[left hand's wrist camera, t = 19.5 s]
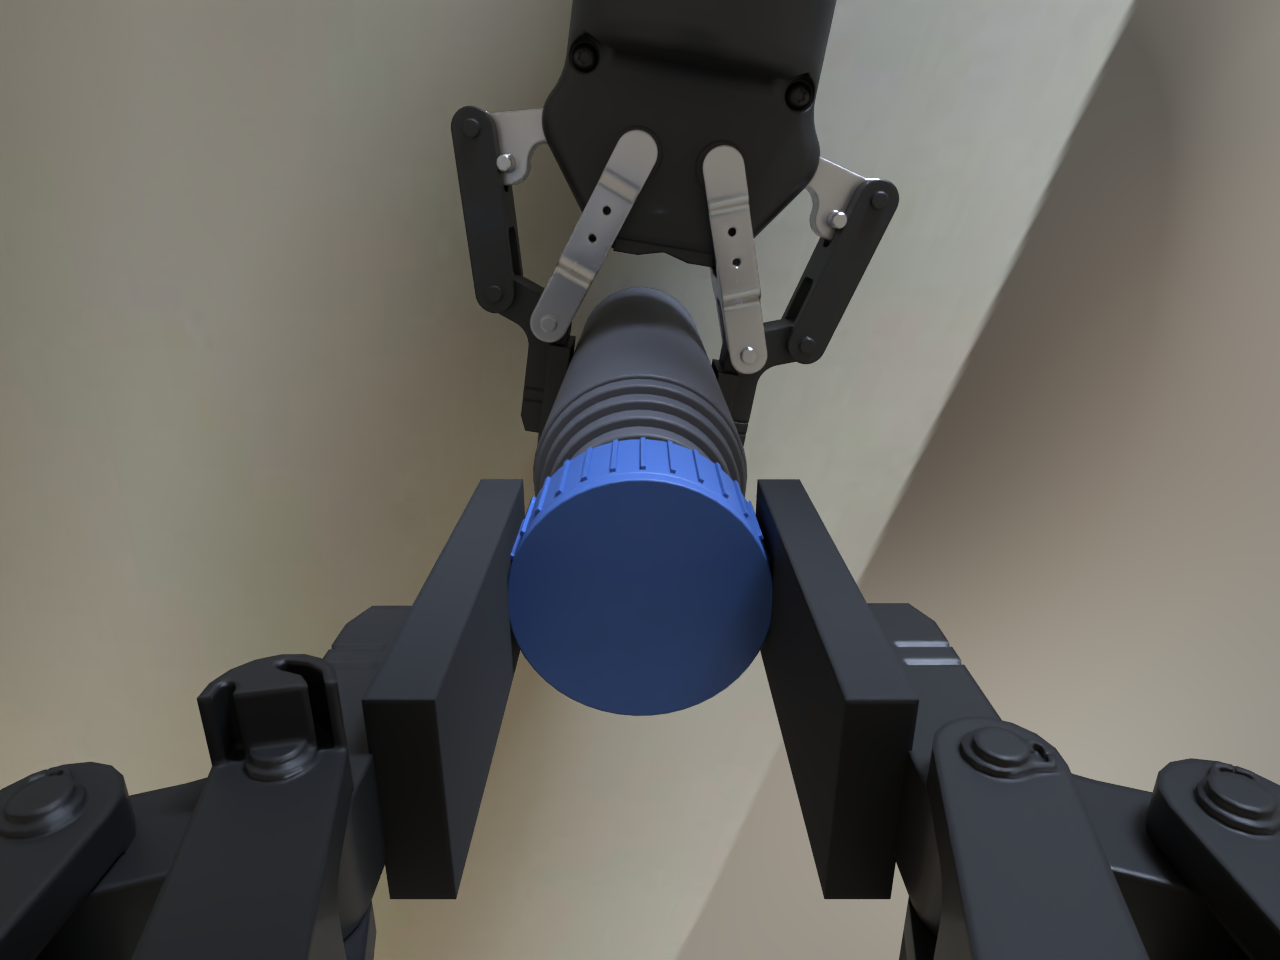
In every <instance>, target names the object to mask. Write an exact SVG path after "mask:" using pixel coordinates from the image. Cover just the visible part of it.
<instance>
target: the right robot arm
mask: <svg viewBox="0 0 1280 960" xmlns="http://www.w3.org/2000/svg"><path fill="white" fill-rule="evenodd" d="M835 4H836V0H573V4H572V12H571V21H570V30H569V39H568V47H567V55H566V61H565V65H564V68H563V71H562V74H561V76H560V78H559V80H558V82H557V84H556V86H555V87H554V89H553V90H552V91H551V93H550V94H549V96H548V97H547V99H546V101H545V104H544V107H543V108H537V109H526V110H514V111H503V112H491V113H489V112H486V111H484V110H482V109H480V108H477V107H474V106H466V107H463V108H461V109H459V110H458V111H457V112H456V113H455V115H454V116H453V119H452V122H451V132H452V139H453V146H454V152H455V159H456V166H457V173H458V179H459V186H460V193H461V199H462V206H463V213H464V220H465V226H466V233H467V240H468V247H469V253H470V260H471V267H472V274H473V280H474V287H475V294H476V299H477V301H478V303H479V305H480V306H481V307H482V308H483V309H485V310H486V311H488V312H491V313H499V314H501V315H502V316H504V317H506V318H508V319H510V320H512V321H513V322H515V323H517V324H518V325H519V326H521V327H522V329H523V330H524V331H525V333H526V335H527V337H528V342H529V349H528V358H527V367H526V376H525V384H524V393H523V402H522V411H521V417H522V421H523V424H524V428H525V431H532V432H538V433H539V436H538V443H539V440H540V437H541V435H542V432H543V430H544V427H545V425H546V422H547V420H548V417H549V415H550V412H551V410H552V407H553V405H554V402H555V400H556V397H557V395H558V392H559V390H560V387H561V385H562V382H563V379H564V377H565V374H566V372H567V369H568V367H569V364H570V362H571V359H572V357H573V354H574V346H575V339H576V336H570V332H571V324H572V320H573V318H574V316H575V314H576V312H577V310H578V308H579V307H580V305H581V303H582V301H583V299H584V297H585V295H586V293H587V291H588V289H589V288H590V286H591V284H592V282H593V280H594V278H595V276H596V274H597V272H598V271H599V269H600V267H601V265H602V263H603V261H604V259H605V257H606V255H607V253H608V252H609V250H610V248H611V247H612V248H614V249H613V251H618V252H624V253H630V254H636V255H641V254H650V253H660V252H664V253H667V254H669V255H671V256H673V257H675V258H678V259H680V260H682V261H684V262H686V263H689V264H695V265H701V266H707V267H710V273H711V279H712V285H713V290H714V294H715V299H716V305H717V311H718V317H719V324H720V330H721V336H722V343H723V344H722V349H721V354H720V359H719V360H716V359H713V360H712V369H713V371H714V374H715V376H716V379H717V381H718V384H719V386H720V389H721V391H722V394H723V396H724V399H725V401H726V404H727V406H728V409H729V411H730V414H731V416H732V419H733V421H734V424H735V426H736V429H737V431H738V434H739V436H740V439H741V442H742V445H743V446H744V441H745V436H746V432H747V427H748V422H749V418H750V413H751V409H752V404H753V399H754V395H755V390H756V385H757V382H758V379H759V378H760V376H761V375H762V373H763V372H764V371H766V370H767V369H769V368H770V367H773V366H776V365H781V364H786V363H791V362H798V363H801V364H810V363H813V362H815V361H817V360H818V359H819V358H820V357H821V356H822V355H823V353H824V351H825V349H826V347H827V345H828V343H829V341H830V339H831V337H832V335H833V333H834V331H835V329H836V328H837V326H838V324H839V322H840V320H841V318H842V316H843V314H844V312H845V310H846V308H847V306H848V304H849V302H850V300H851V298H852V296H853V294H854V292H855V290H856V288H857V286H858V284H859V282H860V280H861V278H862V276H863V274H864V272H865V270H866V268H867V266H868V264H869V262H870V260H871V258H872V256H873V254H874V252H875V250H876V248H877V246H878V244H879V242H880V240H881V238H882V236H883V234H884V232H885V230H886V228H887V226H888V224H889V222H890V221H891V219H892V217H893V215H894V213H895V211H896V209H897V206H898V203H899V194H898V191H897V188H896V187H895V186H894V185H893V184H892V183H891V182H890V181H887V180H883V179H866V178H864V177H862V176H860V175H857V174H855V173H853V172H851V171H849V170H847V169H845V168H843V167H840V166H838V165H836V164H834V163H832V162H830V161H828V160H826V159H823V158H821V157H820V147H819V142H818V139H817V135H816V131H815V125H814V104H815V98H816V93H817V88H818V83H819V79H820V74H821V69H822V65H823V60H824V55H825V51H826V46H827V41H828V37H829V32H830V27H831V23H832V18H833V13H834V9H835ZM544 143H548V145H549V147H550V149H551V151H552V153H553V155H554V157H555V159H556V161H557V163H558V165H559V167H560V169H561V171H562V173H563V175H564V177H565V179H566V181H567V183H568V185H569V187H570V189H571V191H572V193H573V195H574V197H575V199H576V201H577V203H578V205H579V207H580V209H581V211H582V215H581V217H580V219H579V221H578V223H577V225H576V227H575V229H574V231H573V233H572V235H571V237H570V239H569V240H568V242H567V244H566V246H565V248H564V250H563V252H562V254H561V256H560V258H559V261H558V263H557V265H556V268H555V270H554V272H553V274H552V276H551V278H550V280H549V282H548V284H547V285H546V287H545V288H543V287H541V286H539V285H537V284H536V283H534V282H532V281H530V280H528V279H527V278H525V277H523V270H522V262H521V254H520V246H519V238H518V230H517V223H516V215H515V207H514V199H513V191H512V185H516V184H519V183H521V182H523V181H524V180H525V179H526V178H527V177H528V175H529V173H530V169H531V158H532V155H533V153H534V151H535V150H536V148H537V147H538V146H540V145H541V144H544ZM804 188H805V189H806V190H807V191H808V192H809V193H810V195H811V198H812V202H813V206H812V211H811V214H810V226H811V229H812V231H813V232H814V233H815V234H816V235H817V236H819V237H820V239H819V241H818V243H817V245H816V248H815V250H814V252H813V254H812V256H811V258H810V260H809V262H808V264H807V266H806V268H805V271H804V273H803V275H802V277H801V279H800V281H799V283H798V285H797V287H796V289H795V291H794V294H793V296H792V298H791V300H790V302H789V304H788V306H787V308H786V310H785V312H784V314H783V316H782V319H781V320H776V321H770V322H765V323H763V318H762V311H761V303H760V297H761V291H760V282H759V275H758V268H757V260H756V253H755V246H754V238H755V237H756V236H757V235H758V234H759V233H760V232H761V231H762V230H763V229H764V228H765V227H766V226H767V225H768V224H769V223H770V222H771V221H772V220H773V219H774V218H775V217H776V216H777V215H778V214H779V213H780V212H781V211H782V210H783V209H784V208H785V207H786V206H787V205H788V204H789V203H790V202H791V201H792V200H793V199H794V198H795V197H796V196H797V195H798V194H799V193H800V192H801V191H802V190H803V189H804ZM537 446H538V445H537Z"/></svg>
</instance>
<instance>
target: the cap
mask: <svg viewBox="0 0 1280 960" xmlns="http://www.w3.org/2000/svg"><path fill="white" fill-rule="evenodd" d="M763 539H764V538H763V535H762V532H761V530H760V527H759V524H758V521H757V518H756V515H755V512H754V510H753V507H752V504H751V502H750V501H748V502H747V501H746V499H745V498H744V496H743V494H742V492H741V489H740V486H739V483H738V482H737V481H736V480H735V481H733V480H732V479H731V478H730V477H729V476H728V475H727V474H726V473H725V472H724V471H723V470H722V469H721V466H720V464H719V463H717V462H716V463H715V464H714V463H713V462H712V461H710V460H709V459H708V458H706V457H704V456H702V455H700V454H699V453H698V450H696V449H693V450H690V449H688V448H685V447H683V446H680V445H677V444H673V442H672V441H669V440H668V442H664V441H658V440H649V439H645V437H641V438H640V439H630V440H623V441H618V439H616V440H613V442H611V443H608V444H604V445H600V446H597V447H595V448H593V449H592V447H589V448H587V451H586V452H583V453H582V454H580V455H578V456H577V457H575V458H573V459H571V460H570V461H569V460H568V459H567V460H566V461H564V465H563V466H562V467H561V468H560V469H558V470H557V471H556V472H555V473H554V474H553V475H552V476H551V477H549V476H548V477H547V478H546V479H545V482H544V485H543V487H542V489H541V490H540V491H539V493H538V495H537V497H534V496H533V497H532V499H531V501H530V504H529V507H528V510H527V513H526V516H525V519H523V521H522V524H521V527H520V530H519V533H518V535H517V538H516V541H515V544H514V547H513V550H512V552H511V560H513V561H512V564H511V567H510V572H509V576H508V582H507V584H508V602H509V617H510V626H511V630H512V632H513V635H514V637H515V640H516V642H517V644H518V646H519V648H520V650H521V651H522V653H523V655H524V657H525V658H526V659H527V661H528V662H529V663H530V665H531V666H532V667H533V669H534V670H535V671H536V672H537V673H538V674H539V675H540V676H541V677H542V678H543V679H544V680H545V681H546V682H547V683H549V684H550V685H551V686H553V687H554V688H555V689H556V690H558V691H559V692H561V693H563V694H564V695H566V696H567V697H569V698H571V699H573V700H575V701H577V702H579V703H581V704H584V705H586V706H589V707H592V708H595V709H598V710H601V711H605V712H610V713H615V714H622V715H632V716H647V715H658V714H666V713H671V712H675V711H679V710H683V709H686V708H689V707H692V706H694V705H697V704H699V703H701V702H703V701H705V700H707V699H710V698H712V697H713V696H715V695H716V694H718V693H719V692H721V691H723V690H724V689H726V688H727V687H728V686H729V685H730V684H732V683H733V682H734V681H735V680H736V679H738V678H739V677H740V676H741V674H742V673H743V672H744V671H745V670H746V669H747V668H748V667H749V666H750V664H751V663H752V661H753V660H754V658H755V657H756V656H757V654H758V653H759V651H760V649H761V647H762V645H763V643H764V641H765V639H766V636H767V633H768V630H769V628H770V623H771V610H772V594H773V578H772V574H771V570H770V566H769V564H770V559H769V557H768V554H767V551H766V548H765V545H764V542H763Z"/></svg>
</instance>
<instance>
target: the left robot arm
mask: <svg viewBox="0 0 1280 960" xmlns="http://www.w3.org/2000/svg"><path fill="white" fill-rule="evenodd" d="M756 518H757V521H758V524H759V527H760V530H761V532H762V535H763V538H764V539H763V542H764V545H765V548H766V551H767V554H768V557H769V559H770V564H769V566H770V570H771V574H772V578H773V594H772V610H771V623H770V628H769V630H768V633H767V636H766V639H765V641H764V643H763V645H762V647H761V649H760V651H761V655H762V659H763V663H764V667H765V671H766V674H767V678H768V682H769V686H770V690H771V694H772V698H773V702H774V705H775V709H776V713H777V717H778V721H779V725H780V729H781V732H782V736H783V740H784V744H785V748H786V752H787V756H788V759H789V763H790V767H791V771H792V775H793V779H794V783H795V787H796V790H797V794H798V798H799V802H800V806H801V810H802V814H803V818H804V821H805V825H806V829H807V833H808V837H809V841H810V845H811V848H812V852H813V856H814V860H815V864H816V868H817V872H818V876H819V879H820V883H821V887H822V891H823V895H824V899H890V898H891V891H892V884H893V877H894V870H895V863H897V865H898V868H899V871H900V873H901V876H902V878H903V881H904V884H905V886H906V889H907V892H908V894H909V899H908V906H907V912H906V918H905V925H904V932H903V938H902V944H901V951H900V957H899V960H1280V785H1278V784H1276V783H1274V782H1272V781H1270V780H1267V779H1265V778H1263V777H1261V776H1259V775H1257V774H1255V773H1254V772H1252V771H1249V770H1246V769H1243V768H1241V767H1238V766H1236V767H1235V766H1232V765H1231V764H1226V763H1222V762H1219V761H1210V760H1201V759H1185V760H1180V761H1174V762H1170V763H1169V764H1167V765H1166V766H1165V767H1164V768H1163V769H1162V770H1161V771H1159V772H1158V776H1157V779H1156V783H1155V786H1154V790H1153V793H1152V792H1148V791H1143V790H1138V789H1134V788H1129V787H1124V786H1120V785H1115V784H1110V783H1105V782H1101V781H1096V780H1092V779H1089V778H1085V777H1082V776H1078V775H1075V774H1072V773H1071V772H1070V769H1069V767H1068V765H1067V763H1066V762H1065V761H1064V759H1063V758H1062V756H1061V755H1060V754H1059V752H1058V751H1057V749H1056V748H1055V747H1053V746H1052V745H1050V744H1049V743H1048V742H1047V741H1045V740H1044V739H1043V738H1041V737H1040V736H1039V735H1037V734H1036V733H1033V732H1031V731H1029V730H1027V729H1024V728H1022V727H1020V726H1018V725H1016V724H1013V723H1010V722H1006V721H1002V720H1001V718H1000V717H999V715H998V714H997V712H996V711H995V709H994V708H993V707H992V705H991V704H990V702H989V701H988V699H987V698H986V696H985V695H984V693H983V692H982V690H981V689H980V687H979V686H978V684H977V683H976V681H975V680H974V678H973V677H972V676H971V674H970V673H969V671H968V670H967V668H966V667H965V665H961V659H960V658H959V656H958V655H957V653H956V652H955V650H954V649H953V648H952V647H949V642H948V640H947V639H946V637H945V636H944V634H943V633H942V631H941V630H940V628H939V627H938V625H937V624H936V622H935V621H933V620H932V619H930V618H929V617H927V616H926V615H925V614H923V613H922V612H920V611H919V610H917V609H916V608H914V607H913V606H911V605H910V604H908V603H866V601H865V599H864V597H863V595H862V594H861V592H860V590H859V588H858V586H857V584H856V582H855V581H854V579H853V577H852V575H851V573H850V571H849V570H848V568H847V566H846V564H845V562H844V560H843V559H842V557H841V555H840V553H839V551H838V549H837V548H836V546H835V544H834V542H833V540H832V538H831V537H830V535H829V533H828V531H827V529H826V527H825V525H824V524H823V522H822V520H821V518H820V516H819V514H818V513H817V511H816V509H815V507H814V505H813V503H812V502H811V500H810V498H809V496H808V494H807V492H806V491H805V489H804V487H803V485H802V483H801V481H800V480H758V483H757V501H756ZM523 519H525V510H524V491H523V480H480V482H479V484H478V486H477V488H476V490H475V492H474V493H473V495H472V497H471V499H470V501H469V503H468V504H467V506H466V508H465V510H464V512H463V514H462V515H461V517H460V519H459V521H458V523H457V525H456V526H455V528H454V530H453V532H452V534H451V536H450V538H449V539H448V541H447V543H446V545H445V547H444V549H443V550H442V552H441V554H440V556H439V558H438V560H437V561H436V563H435V565H434V567H433V569H432V571H431V572H430V574H429V576H428V578H427V580H426V582H425V583H424V585H423V587H422V589H421V591H420V593H419V595H418V596H417V598H416V600H415V602H414V604H413V606H371V607H370V608H369V609H367V610H366V611H364V612H363V613H361V614H360V615H358V616H357V617H356V618H354V619H353V620H351V621H350V622H348V623H347V624H346V625H345V626H344V628H343V629H342V631H341V632H340V634H339V635H338V637H337V638H336V640H335V641H334V643H333V644H332V649H331V650H328V652H327V653H326V655H325V656H324V658H323V659H322V658H318V657H314V656H310V655H306V654H284V655H277V656H272V657H267V658H262V659H257V660H254V661H251V662H249V663H246V664H243V665H241V666H238V667H236V668H233V669H231V670H229V671H227V672H226V673H224V674H223V675H221V676H220V677H218V678H217V679H215V680H214V681H212V682H211V683H209V684H208V686H207V687H206V688H205V689H204V690H203V692H202V693H201V694H200V695H199V696H198V698H197V702H198V706H199V710H200V715H201V719H202V723H203V728H204V732H205V736H206V741H207V745H208V749H209V754H210V758H211V762H212V768H211V771H210V773H209V775H208V777H207V778H204V779H200V780H197V781H193V782H190V783H186V784H181V785H177V786H172V787H167V788H163V789H158V790H153V791H149V792H144V793H140V794H135V795H130V796H129V795H128V791H127V788H126V784H125V781H124V777H123V775H122V774H121V773H120V772H118V771H117V770H116V769H115V768H114V767H113V766H111V765H105V764H100V763H94V762H85V763H75V764H66V765H61V766H58V767H53V768H50V769H48V770H46V769H45V770H43V771H40V772H37V773H34V774H31V775H29V776H27V777H26V778H24V779H21V780H19V781H17V782H15V783H13V784H11V785H9V786H7V787H5V788H3V789H1V790H0V960H373V959H374V949H375V940H376V926H375V919H374V912H373V906H372V897H373V895H374V892H375V889H376V887H377V884H378V881H379V879H380V876H381V873H382V871H383V868H384V865H385V867H386V874H387V880H388V887H389V894H390V899H456V897H457V893H458V889H459V885H460V882H461V878H462V874H463V870H464V866H465V862H466V858H467V854H468V851H469V847H470V843H471V839H472V835H473V831H474V827H475V823H476V820H477V816H478V812H479V808H480V804H481V800H482V796H483V792H484V789H485V785H486V781H487V777H488V773H489V769H490V765H491V762H492V758H493V754H494V750H495V746H496V742H497V738H498V734H499V731H500V727H501V723H502V719H503V715H504V711H505V707H506V703H507V700H508V696H509V692H510V688H511V684H512V680H513V676H514V672H515V669H516V665H517V661H518V657H519V653H520V648H519V646H518V644H517V642H516V640H515V637H514V635H513V632H512V630H511V626H510V617H509V602H508V584H507V582H508V576H509V572H510V567H511V564H512V561H513V560H511V552H512V550H513V547H514V544H515V541H516V538H517V535H518V533H519V530H520V527H521V524H522V521H523Z"/></svg>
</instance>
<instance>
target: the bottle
mask: <svg viewBox="0 0 1280 960" xmlns="http://www.w3.org/2000/svg"><path fill="white" fill-rule="evenodd" d="M641 437H645V439H649V440H658V441H664V442H668V440H669V441H672V442H673V444H677V445H680V446H683V447H685V448H688V449H690V450H693V449H696V450H698V453H699V454H700V455H702V456H704V457H706V458H708V459H709V460H710V461H712V462H713V463H714V464H715V463H716V462H717V463H719V464H720V466H721V469H722V470H723V471H724V472H725V473H726V474H727V475H728V476H729V477H730V478H731V479H732V480H733V481H735V480H736V481H737V482H738V483H739V486H740V489H741V492H742V494H743V496H744V498H745V491H746V482H747V464H746V458H745V452H744V448H743V445H742V442H741V439H740V436H739V434H738V431H737V429H736V426H735V424H734V421H733V419H732V416H731V414H730V411H729V409H728V406H727V404H726V401H725V399H724V396H723V394H722V391H721V389H720V386H719V384H718V381H717V379H716V376H715V374H714V371H713V369H712V366H711V364H710V361H709V359H708V356H707V354H706V351H705V349H704V346H703V344H702V341H701V339H700V336H699V334H698V331H697V329H696V326H695V324H694V322H693V320H692V318H691V316H690V314H689V313H688V311H687V310H686V309H685V308H684V307H683V305H682V304H681V303H679V302H678V301H677V300H676V299H675V298H673V297H672V296H670V295H668V294H666V293H664V292H662V291H659V290H656V289H652V288H645V287H635V288H628V289H624V290H621V291H618V292H616V293H614V294H612V295H610V296H608V297H607V298H606V299H604V300H603V301H602V302H601V303H600V304H599V305H597V306H596V308H595V309H594V310H593V311H592V313H591V315H590V316H589V318H588V320H587V322H586V324H585V327H584V329H583V332H582V334H581V337H580V339H579V342H578V344H577V347H576V349H575V352H574V354H573V357H572V359H571V362H570V364H569V367H568V369H567V372H566V374H565V377H564V379H563V382H562V385H561V387H560V390H559V392H558V395H557V397H556V400H555V402H554V405H553V407H552V410H551V412H550V415H549V417H548V420H547V422H546V425H545V427H544V430H543V432H542V435H541V437H540V440H539V443H538V446H537V450H536V453H535V460H534V467H533V480H534V490H535V497H537V495H538V493H539V491H540V490H541V489H542V487H543V485H544V482H545V479H546V478H547V477H548V476H549V477H551V476H552V475H553V474H554V473H555V472H556V471H557V470H558V469H560V468H561V467H562V466H563V465H564V461H566V460H567V459H568V460H569V461H570V460H571V459H573V458H575V457H577V456H578V455H580V454H582V453H583V452H586V451H587V448H589V447H592V449H593V448H595V447H597V446H600V445H604V444H608V443H611V442H613V440H616V439H618V441H623V440H630V439H640V438H641Z"/></svg>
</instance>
